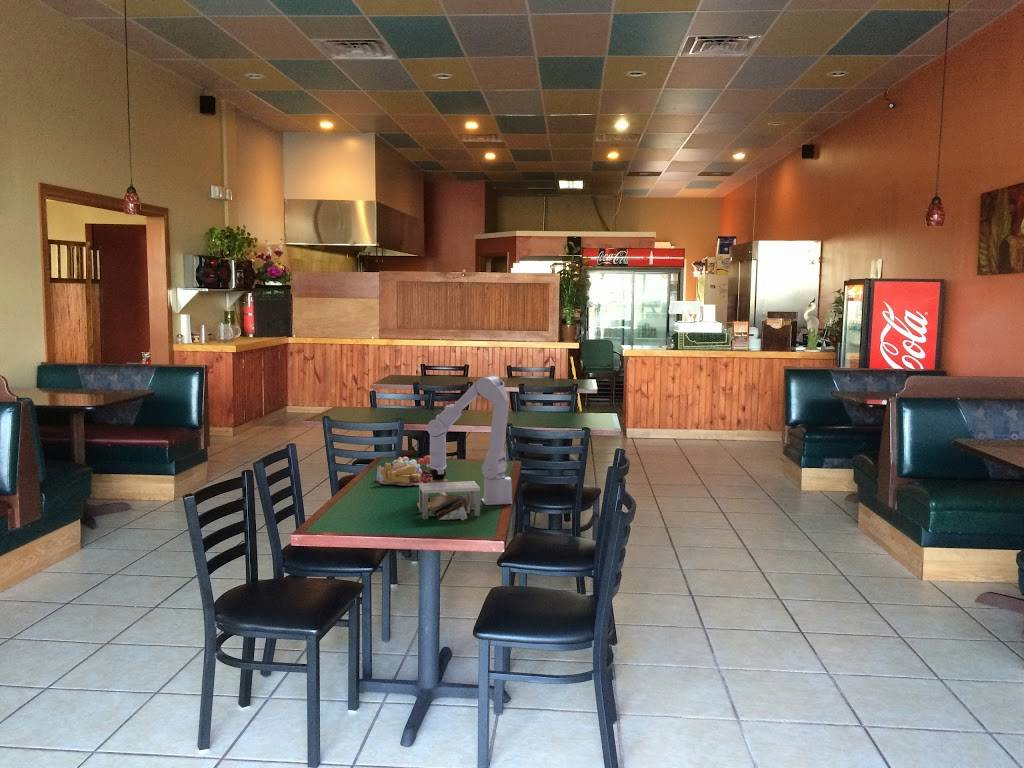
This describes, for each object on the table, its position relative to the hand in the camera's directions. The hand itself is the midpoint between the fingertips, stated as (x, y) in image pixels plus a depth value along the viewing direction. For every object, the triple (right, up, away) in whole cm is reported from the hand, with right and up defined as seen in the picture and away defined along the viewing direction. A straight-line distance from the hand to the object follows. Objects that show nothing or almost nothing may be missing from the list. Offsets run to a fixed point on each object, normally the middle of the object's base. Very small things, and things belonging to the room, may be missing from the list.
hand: (437, 490), depth 291 cm
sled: (+3, -3, -13) cm, 14 cm away
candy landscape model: (-14, 0, +27) cm, 31 cm away
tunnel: (+6, -5, -23) cm, 24 cm away
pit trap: (+4, -4, -14) cm, 15 cm away
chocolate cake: (+7, -6, -29) cm, 30 cm away
